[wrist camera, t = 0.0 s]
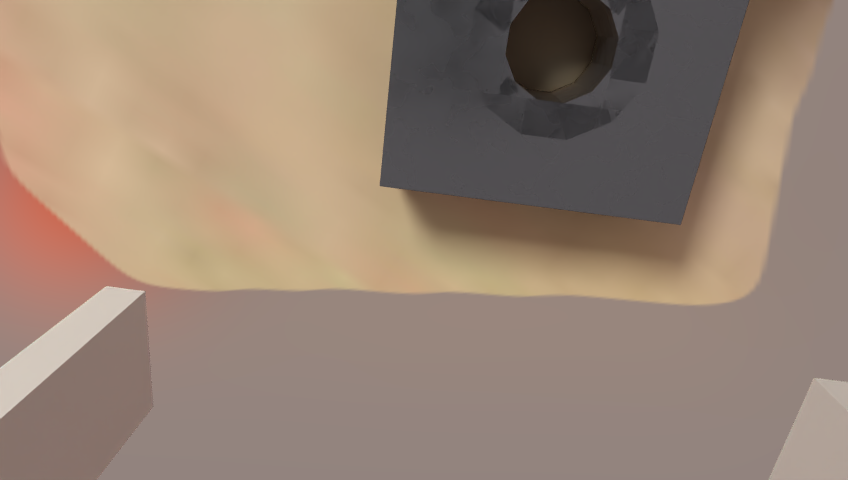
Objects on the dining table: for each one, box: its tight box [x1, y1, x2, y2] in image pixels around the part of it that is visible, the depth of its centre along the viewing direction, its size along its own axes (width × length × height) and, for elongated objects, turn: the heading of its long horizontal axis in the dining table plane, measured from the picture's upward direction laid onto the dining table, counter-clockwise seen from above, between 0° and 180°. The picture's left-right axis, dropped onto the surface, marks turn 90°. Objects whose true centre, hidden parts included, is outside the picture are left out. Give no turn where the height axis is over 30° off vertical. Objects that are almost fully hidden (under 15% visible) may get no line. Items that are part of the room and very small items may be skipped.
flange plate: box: [380, 0, 749, 225], centre depth 33 cm, size 18×18×5 cm
